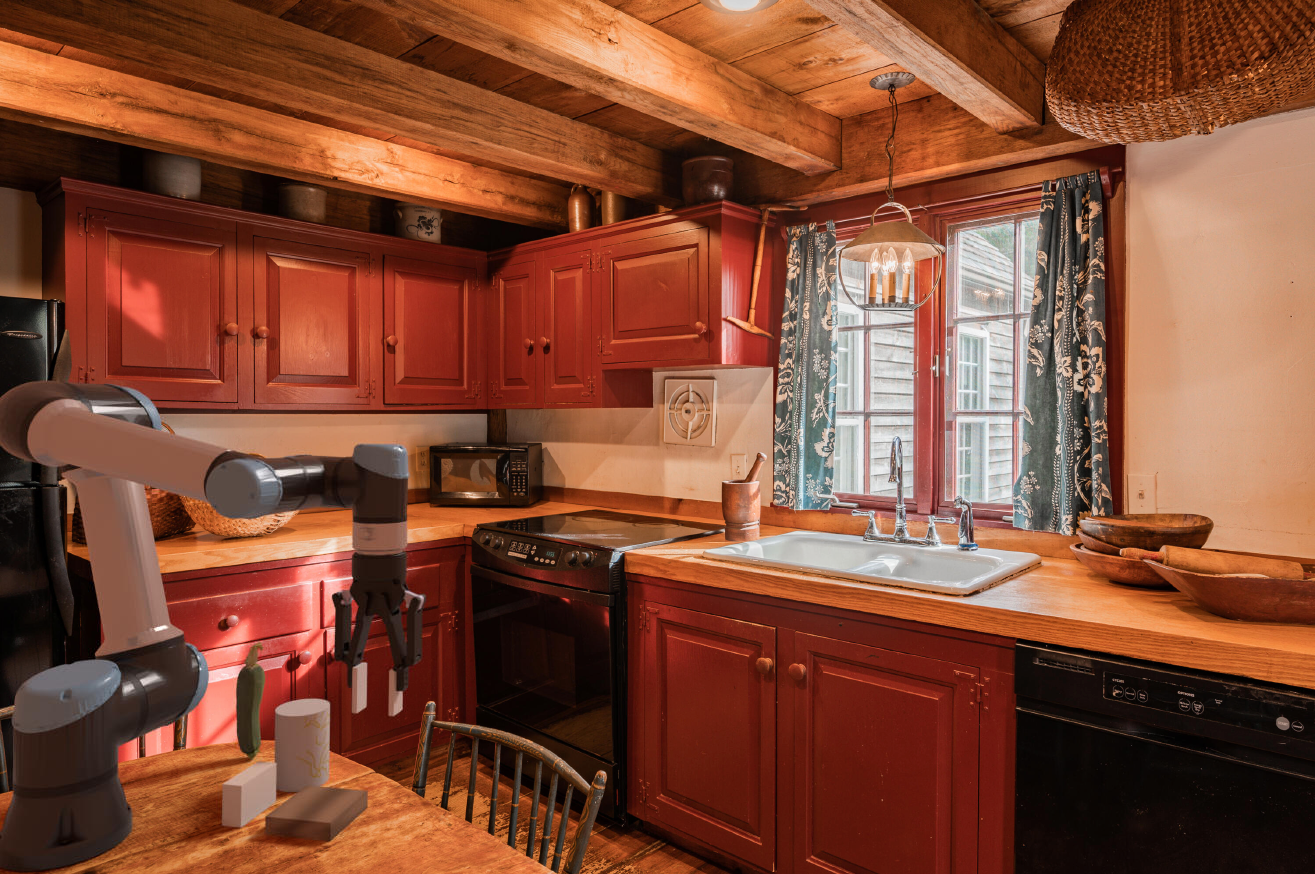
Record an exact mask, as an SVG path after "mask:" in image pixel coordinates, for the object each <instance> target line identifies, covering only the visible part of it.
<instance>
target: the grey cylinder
mask: <svg viewBox="0 0 1315 874" xmlns="http://www.w3.org/2000/svg"><path fill="white" fill-rule="evenodd" d="M274 711H275V712H274V715H275V716H274V717H275V719H274V763H276V790H277V791H281V792H286V793H297V792H299V791H300V790H301V789H303V788H304V787H305V786H307V785H310V786H321V787H322V786H323V785H324V784H326V783H327V782H328V781H329V779H330V733H331V732H330V730H331V729H330V727H331V726H330V725H331V723H330V722H331V703H330V701H328V700H326V699H321V698H301V699H296V700H291V701H286V702H285V703H282V704H279V706H277V707H276V708H275V710H274Z"/></svg>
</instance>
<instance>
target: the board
mask: <svg viewBox="0 0 1315 874" xmlns="http://www.w3.org/2000/svg"><path fill="white" fill-rule="evenodd" d="M368 792H369V791H368V790H361V789H352V788H342V787H331V786H322V785H321V786H310V785H307V786H305V787H304V788H303V789H301V790H300V791H299V792H295V794H293V795H292V796H291V797H289V798H288V799H287V800H286V801H284V802H283V803H282V804H279V806H277V807H276V808H274V809H273V810H271V812H269V813H267V815H265V819H264V821H265V822H264V828H265V830H264V832H265V833H264V835H267V836H275V837H276V836H277V837H287V838H296V839H305V840H314V841H324V842H332V841H333V840H334V839H335V838H336V837H337V836H339V834H340V833H342V832H343V831H344V830H345V829H346V828H347V827H348V826H349V825H350V824H351V823H352V822H354V821H355V820H356V819H357V818H358V817H359V816H360V815H362V814H363V812H365V811H366V810H367V809H368V808H369V807H368V803H369V802H368V800H369V799H368V797H369V795H368V794H369V793H368Z"/></svg>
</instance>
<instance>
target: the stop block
mask: <svg viewBox="0 0 1315 874" xmlns="http://www.w3.org/2000/svg"><path fill="white" fill-rule="evenodd" d="M221 795H222V799H221V800H222V801H221V802H222V803H221V804H222V809H221V814H222V815H221V826H223V827H232V828H241V829H242V827H244V826H245V825H247V824H248V823H250V822H251V821H252V820H253V819H255V818H256V817H258V816H259V815H260V814H261V813H263V812H265V811H266V810H267V809H269V808H270V807H271V806H272V805H274V804H275V803H276V802H277V789H276V763H275V762H270V761H269V762H268V761H257V762H255V763H253V764H252V765H251V766H249V767H248V768H246V769H244V770H243V771H241V772H240V773H238V774H237V775H234V776H233V777H231V778H229V779H228V780H227V781H225V782H223V783H222V794H221Z"/></svg>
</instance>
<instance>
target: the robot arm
mask: <svg viewBox="0 0 1315 874" xmlns="http://www.w3.org/2000/svg"><path fill="white" fill-rule="evenodd" d="M162 427H163V426H162V420H161V417H160V414H159V412H158V409H157V407H156V406H155V403H153V401H152V400H151V399H150V398H149V397H148V396H146V395H145V394H143V393H142V392H140V391H139V390H137V389H134V388H131V387H128V386H127V387H126V386H120V385H116V384H114V383H113V384H112V383H102V384H101V383H83V382H82V383H81V382H66V381H65V382H64V381H55V380H39V381H38V380H37V381H30V382H25V383H23V384H19V385H17V386H15V387H13V388H11V389H10V390H8V391H7V392H5V393H4V394H3V395H2V396H0V447H2V449H4V450H5V451H6V452H7V453H9V454H10V455H12V456H15V457H17V458H19V459H20V460H21V459H22V460H26V461H29V462H32V463H37V464H39V465H43V466H46V467H53V468H55V467H57V468H58V467H59V468H60V474H61V477H62V478H63V479H65V480H67V481H69V482H71V483H72V484H73V485H74V486H75V487H76V491H77V492H76V493H77V497H78V503H79V507H80V513H81V514H80V515H81V518H82V519H81V520H82V525H83V529H84V534H85V540H86V544H87V545H86V546H87V551H88V556H89V561H90V566H91V572H92V577H93V583H94V588H95V594H96V599H97V605H98V610H99V615H100V620H101V626H102V630H103V631H102V632H103V635H104V641H103V643H102V644H101V645H100V647H98V649H97V650H96V652H95V653H94V655H95V659H88V660H79V661H74V662H73V663H71V664H66V663H65V664H61V665H58V666H55V667H51V668H48V669H46V670H44V671H41V672H39V673H38V674H35V675H33V676H32V677H30V678H29V679H27V680H26V681H24V682H23V683H22V684H21V685H20V687H19V688H18V689H17V691H16V694H15V697H14V708H13V709H14V710H13V713H12V716H11V725H12V739H13V740H12V744H13V745H12V758H13V759H12V760H13V762H12V765H13V766H12V768H13V769H12V796H11V797H12V798H11V801H10V804H9V806H8V808H7V811H6V813H5V814H6V815H5V817H4V820H3V825H2V829H1V830H0V868H1V869H4V870H5V869H6V870H9V871H14V872H15V871H16V872H34V871H35V872H36V871H37V872H39V871H44V870H52V869H58V868H61V867H67V866H69V865H74V864H78V863H80V862H83V861H86V860H89V859H92V858H94V857H96V856H99V855H101V854H104V853H105V852H107V851H109V850H111V849H113V848H114V847H116V846H118V845H119V844H121V843H122V842H123V841H124V840H125V839H126V838H128V836H130V834H131V832H132V830H133V809H132V807H131V805H130V804H129V802H128V801H127V797H126V793H125V791H124V790H125V789H124V787H123V785H122V782H121V780H120V777H119V747H121V746H122V745H125V744H127V743H130V742H132V741H134V740H137V739H138V738H140V737H143V736H145V735H146V734H149V733H151V732H153V731H156V730H158V729H160V728H162V727H163V728H164V727H167V726H170V725H172V724H174V723H175V722H178V721H179V720H180V719H181V718H182V717H185V716H187V715H188V714H190V713H192V712H193V711H194V710H195V709H196V708H197V707H198V705H199V704H200V702H201V701H202V700H203V698H204V697H205V695H206V692H207V689H208V686H209V677H210V675H209V674H210V673H209V670H210V669H209V665H208V662H207V660H206V657H205V655H204V654H203V653H202V652H201V651H198V648H197V647H196V646H195V645H193V644H191V643H189V642H186V637H185V634H184V630H182V629H179V628H178V627H176V626H175V625H173V624H172V623H171V621H170V615H169V609H168V605H167V600H166V594H165V589H164V584H163V579H162V578H163V577H162V572H161V567H160V563H159V557H158V551H157V548H156V547H157V545H156V542H155V537H154V532H153V525H152V520H151V516H150V510H149V505H148V500H147V499H148V498H147V495H146V490H145V487H147V486H148V487H150V488H154V489H157V490H160V491H165V492H168V493H171V494H175V495H179V496H182V497H187V498H190V499H193V500H197V501H200V502H204V503H207V504H209V505H210V507H212V508H213V509H214V510H215V512H216V513H217V514H218V515H220V516H221V517H224V518H227V519H233V520H234V519H235V520H236V519H238V520H239V519H244V520H252V519H257V518H258V519H259V518H261V517H265V516H266V517H267V516H271V515H276V514H283V513H289V512H290V513H291V512H297V511H302V510H309V509H316V508H335V509H336V508H337V509H351V510H352V535H351V536H352V541H351V542H352V544H351V545H352V546H351V547H352V548H353V550H355V552H353V554H352V555H351V577H352V583H351V584H350V587H349V589H342V590H340V591H337V592H335V593H333V594H332V595H331V600H332V603H333V607H334V609H335V610H334V647H333V648H334V649H333V650H334V653H333V658H334V660H335V661H336V662H342V663H344V664H345V665H346V667H347V669H346V670H347V675H346V678H347V679H346V680H347V681H346V686H347V688H348V689H349V688H350V689H352V690H351V713H352V714H358V713H359V712H361V711H362V710H364V709H365V708H367V703H368V702H367V701H368V700H367V697H368V695H367V694H368V693H367V692H368V691H367V690H368V688H367V687H368V684H367V683H368V679H367V678H368V662H363V661H364V660H365V657H363V656H364V653H365V649H366V646H367V642H368V637H369V634H370V630H371V625H372V622H373V620H374V618H375V616H378V617H381V619H382V620H381V621H382V623H383V624H384V625H385V628H386V629H385V630H386V635H387V640H388V643H389V647H390V652H391V657H392V660H393V661H392V662H393V665H394V666H393V667H391V669H390V670H388V675H389V676H388V678H389V679H388V716H389V717H395V716H396V715H397V714H399V713H400V712H401V711H402V710H403V701H404V699H403V695H404V694H403V692H404V691H406V690H407V689H408V687H409V672H410V671H409V669H410V667H413V666H415V665H416V664H418V663H419V662H421V661H422V659H423V610H424V607H425V604H426V601H427V596H426V594H424V593H420V594H417V593H414V592H413V591H410V589H409V587H408V584H407V582H406V581H407V572H408V568H407V567H408V562H407V561H408V554H407V552H406V550H404V549H406V547H408V514H407V513H408V493H409V491H408V489H409V488H408V487H409V478H410V472H409V460H408V458H409V457H408V456H409V455H408V450H407V448H406V447H405V446H404V445H402V444H397V443H358V444H356V445H355V446H354V447H353V452H352V456H331V455H330V456H329V455H312V454H296V455H286V456H283V457H262V456H261V457H260V456H256V455H253V454H249V453H245V452H242V451H241V452H240V451H237V450H234V449H230V448H226V447H223V446H219V445H215V444H212V443H208V442H204V441H201V440H198V439H197V440H196V439H193V438H190V437H186V436H182V435H178V434H174V433H171V432H168V431H164V430H162ZM353 600H354V602H355V603H356V605H357V611H356V612H355V613H356V614H355V618H354V620H355V624H354V628H353V632H352V619H353V617H352V616H353V614H352V613H353V612H352V611H353V608H352V607H353V606H352V603H353ZM404 601H405V602H406V603H405V607H406V608H407V611H406V636H405V631H404V628H403V627H404V626H403V622H402V618H403V617H402V609H401V606H402V604H403V602H404Z"/></svg>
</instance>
